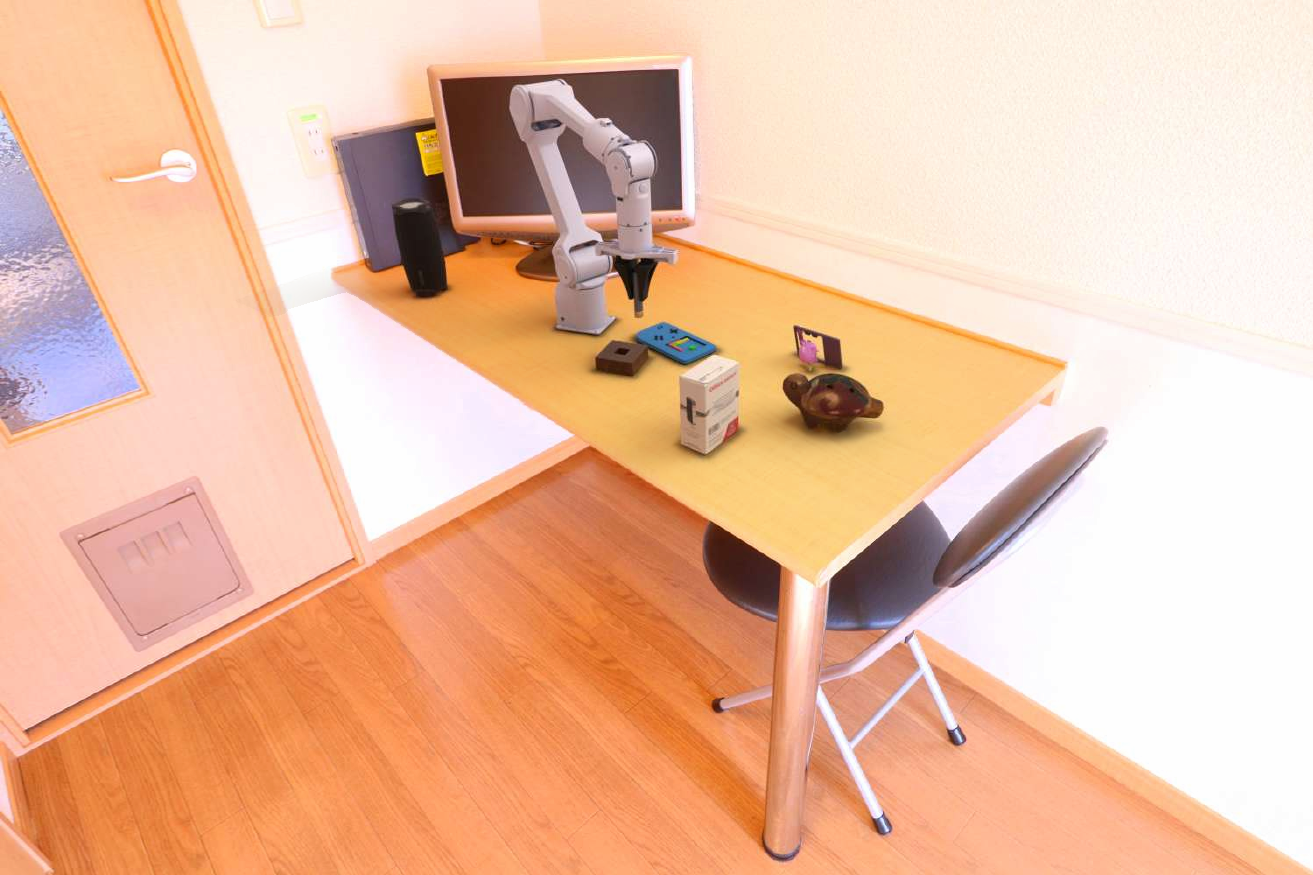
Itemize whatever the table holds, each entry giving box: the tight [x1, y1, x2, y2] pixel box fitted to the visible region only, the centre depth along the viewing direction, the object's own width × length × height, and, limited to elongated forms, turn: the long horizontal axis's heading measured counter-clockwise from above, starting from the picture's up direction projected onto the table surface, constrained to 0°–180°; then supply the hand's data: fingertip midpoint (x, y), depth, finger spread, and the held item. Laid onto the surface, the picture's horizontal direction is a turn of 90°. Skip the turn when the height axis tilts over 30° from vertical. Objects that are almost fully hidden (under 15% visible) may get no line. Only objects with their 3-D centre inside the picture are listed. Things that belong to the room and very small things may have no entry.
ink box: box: [678, 354, 740, 455], centre depth 104 cm, size 8×5×12 cm, turn 140°
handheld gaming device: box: [635, 321, 717, 365], centre depth 133 cm, size 8×1×15 cm
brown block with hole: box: [594, 339, 649, 377], centre depth 127 cm, size 7×7×3 cm
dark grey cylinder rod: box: [632, 267, 645, 319], centre depth 125 cm, size 2×2×9 cm
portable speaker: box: [391, 196, 448, 298], centre depth 154 cm, size 9×9×20 cm
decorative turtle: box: [782, 372, 885, 433], centre depth 108 cm, size 10×15×8 cm, turn 84°
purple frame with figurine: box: [792, 324, 844, 372], centre depth 123 cm, size 7×5×9 cm
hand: (638, 298), depth 126 cm, fingers closed on dark grey cylinder rod, 1 cm apart
